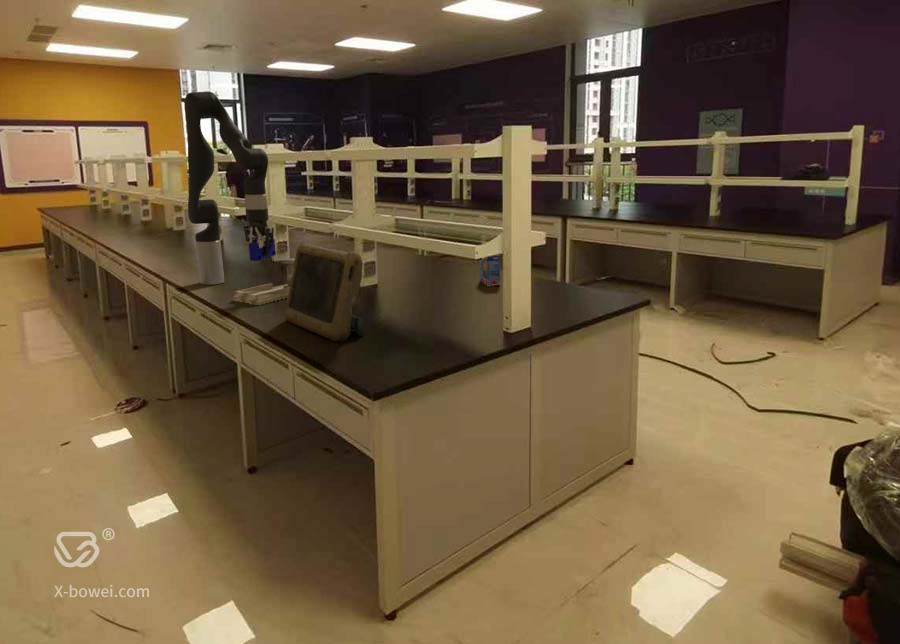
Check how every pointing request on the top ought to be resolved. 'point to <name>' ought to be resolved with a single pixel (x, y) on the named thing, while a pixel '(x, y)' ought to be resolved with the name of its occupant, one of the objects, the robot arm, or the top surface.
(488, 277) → the ink cartridge box
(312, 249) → the tablet
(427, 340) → the top surface
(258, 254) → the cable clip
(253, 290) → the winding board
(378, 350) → the top surface
